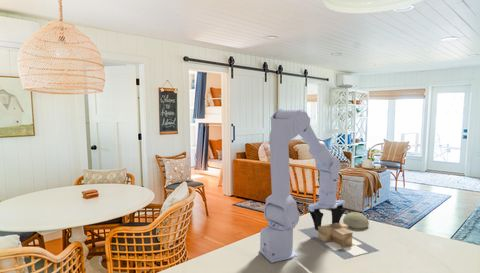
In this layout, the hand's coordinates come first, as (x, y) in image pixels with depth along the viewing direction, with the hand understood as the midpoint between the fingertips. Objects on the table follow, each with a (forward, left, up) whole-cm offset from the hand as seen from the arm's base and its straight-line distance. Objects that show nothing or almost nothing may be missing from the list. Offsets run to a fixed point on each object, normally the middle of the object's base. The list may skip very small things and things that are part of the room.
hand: (326, 228), depth 105 cm
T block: (0, -6, -2) cm, 6 cm away
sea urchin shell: (+16, +2, -3) cm, 16 cm away
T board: (0, -5, -2) cm, 6 cm away
